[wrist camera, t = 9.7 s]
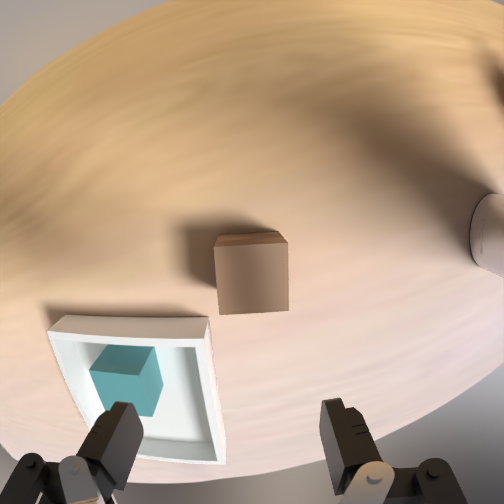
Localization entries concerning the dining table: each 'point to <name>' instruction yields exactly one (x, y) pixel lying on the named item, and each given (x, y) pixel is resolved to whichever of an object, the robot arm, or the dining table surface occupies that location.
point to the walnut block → (251, 273)
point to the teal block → (128, 377)
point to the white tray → (173, 375)
